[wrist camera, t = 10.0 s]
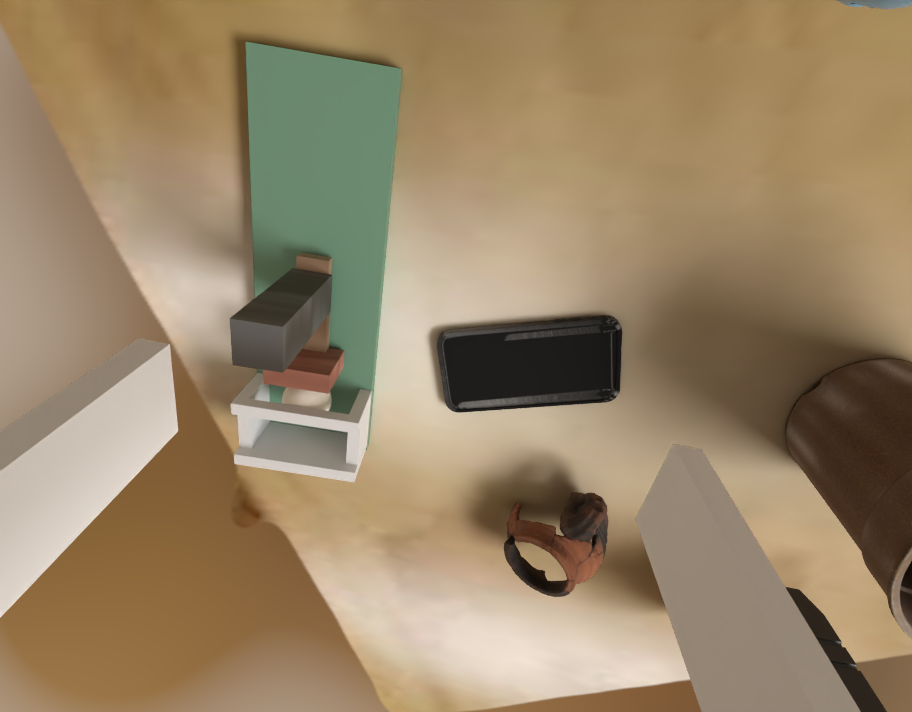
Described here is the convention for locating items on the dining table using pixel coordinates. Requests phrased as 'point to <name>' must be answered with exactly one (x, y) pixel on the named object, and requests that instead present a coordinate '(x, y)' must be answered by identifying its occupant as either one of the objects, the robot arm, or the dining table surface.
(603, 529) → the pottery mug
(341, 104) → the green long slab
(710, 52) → the dining table surface
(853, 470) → the plant pot
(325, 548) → the dining table surface
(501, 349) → the phone
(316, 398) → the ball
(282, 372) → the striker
